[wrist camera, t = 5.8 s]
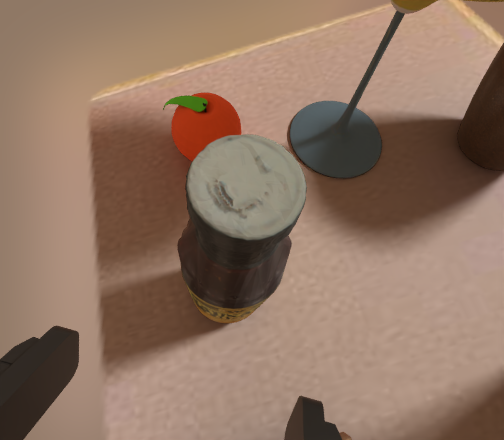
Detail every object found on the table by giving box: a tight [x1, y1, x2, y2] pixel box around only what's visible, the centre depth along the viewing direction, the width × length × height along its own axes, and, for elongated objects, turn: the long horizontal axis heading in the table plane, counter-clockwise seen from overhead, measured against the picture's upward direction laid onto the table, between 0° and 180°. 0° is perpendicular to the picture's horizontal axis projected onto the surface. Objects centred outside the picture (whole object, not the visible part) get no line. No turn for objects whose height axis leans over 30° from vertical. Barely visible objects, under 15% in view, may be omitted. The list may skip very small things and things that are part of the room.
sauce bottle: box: [178, 135, 307, 323], centre depth 19 cm, size 6×6×20 cm
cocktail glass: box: [290, 0, 504, 178], centre depth 24 cm, size 18×18×25 cm
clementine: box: [163, 93, 241, 161], centre depth 30 cm, size 8×7×7 cm
